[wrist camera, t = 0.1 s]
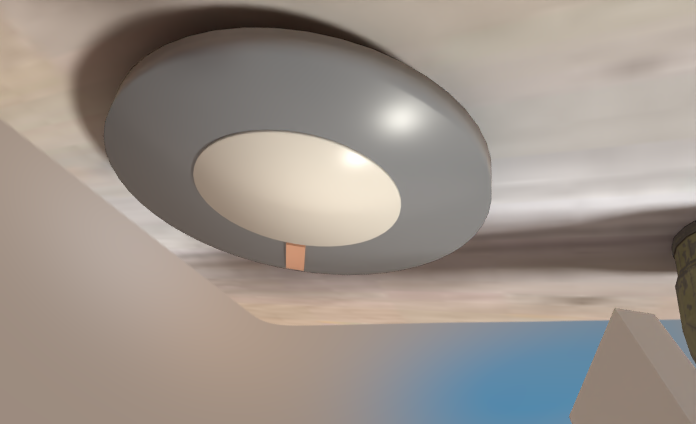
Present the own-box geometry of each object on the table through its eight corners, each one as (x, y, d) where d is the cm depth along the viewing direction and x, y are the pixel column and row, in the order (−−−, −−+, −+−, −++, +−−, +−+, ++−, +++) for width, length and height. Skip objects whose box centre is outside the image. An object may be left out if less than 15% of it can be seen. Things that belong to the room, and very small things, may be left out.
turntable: (54, -11, 22) (37, 19, 21) (558, 73, 22) (561, 106, 22) (157, 227, 39) (149, 249, 39) (440, 273, 40) (438, 296, 39)
